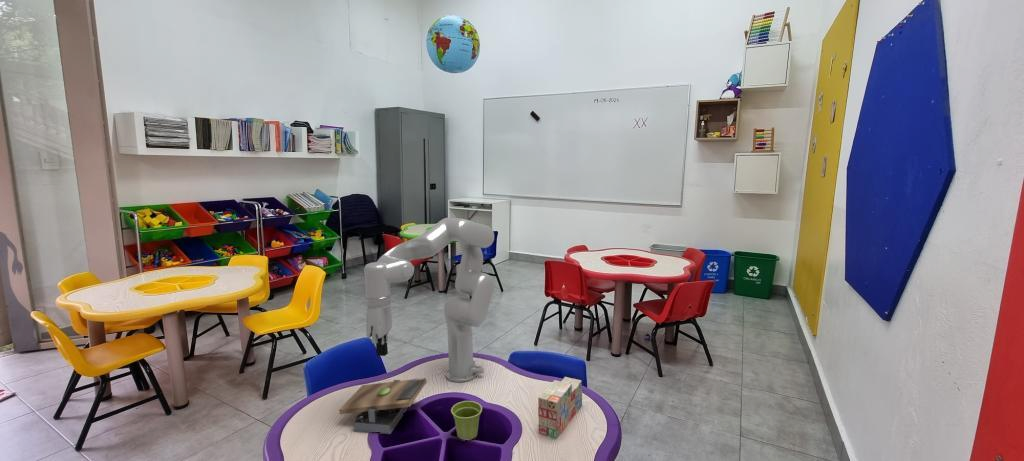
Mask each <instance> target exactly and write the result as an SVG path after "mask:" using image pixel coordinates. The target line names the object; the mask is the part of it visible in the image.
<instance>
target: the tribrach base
mask: <svg viewBox="0 0 1024 461" xmlns="http://www.w3.org/2000/svg"><path fill="white" fill-rule="evenodd" d="M394 381H401V380H398V379H394V380H393V381H392V382H394ZM407 408H408V407H404V408H394V409H385V410H379V411H378V412H377V413H376V409H369V411H366V412H360V413H358V414H357V415H356V419H355V420H354V421H353V432H356V433H367V434H368V433H370V434H371V432H375V431H379V432H380V433H379V434H384V435H385V434H386V435H391V434H392V433H393V431H394V429H395V428H396V426H398V423H399V422H400V421H401V419H402V418H403V416H404V415H403V412H404V411H405V410H406V409H407ZM408 409H409V408H408ZM408 409H407V410H408Z"/></svg>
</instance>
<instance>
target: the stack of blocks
mask: <svg viewBox="0 0 1024 461" xmlns="http://www.w3.org/2000/svg"><path fill="white" fill-rule="evenodd" d="M582 381H583V380H581V379H578V378H577V379H576V378H571V377H567V376H564V377H563V379H561V381H560V380H558V379H557V380H556V379H555V380H553V381H552V383H551V384H550V385H549V386H548V387H547V388H546V389H545V390H544V391H543V392H542V393H541V394H540V395H539V396H538V397H537V398H538V403H537V404H538V406H537V407H538V408H537V410H538V411H537V415H538V434H540V435H542V436H545V437H548V438H552V439H555V440H557V439H558V438H559V437H560V435H561V434H563V432H564V430H565V429H566V428H567V427H568V425H569V424H570V422H571V421H572V419H573V418H574V416H576V414H577V413H578V412H579V410H580V409H581V407H582V405H583V383H582Z"/></svg>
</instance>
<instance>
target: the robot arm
mask: <svg viewBox="0 0 1024 461" xmlns="http://www.w3.org/2000/svg"><path fill="white" fill-rule="evenodd" d="M494 241H495V233H494V230H493V229H492V227H490V226H488V225H486V224H482V223H479V222H476V221H472V220H469V219H467V218H459V217H458V218H457V217H444V218H443V219H440V220H439V221H438V222H437V223H435V224H434V225H433V226H432V227H430V228H428V229H427V230H426V231H425V232H424V233H422V234H421V235H418V236H417V237H415V238H412V239H409V240H406V241H404V242H401V243H400V244H397V245H396V246H394V247H392V248H390V249H389V250H387V252H385V253H384V254H382V255H381V256H380V257H379V258H378V259H377V261H373V262H369V263H367V264H365V265H364V269H363V272H364V285H365V286H364V287H365V298H366V299H365V301H366V314H365V315H366V316H365V332H366V334H365V335H366V338H367V339H370V338H371V343H372V344H375V351H376V352H375V353H376V356H380V357H382V356H383V357H386V356H387V355H388V354H389V352H388V348H389V347H388V340H389V339H388V335H389V332H390V331H391V330H392V328H393V318H392V317H393V316H392V315H393V314H392V309H391V305H392V301H391V300H392V298H391V284H395V283H396V284H397V283H404V282H407V281H409V280H410V279H412V277H413V276H414V274H415V267H414V265H413V264H412V263H413V262H411V261H414V260H421V259H426V258H427V259H428V258H430V257H433V256H436V255H437V254H438V253H439V252H441V251H442V250H443V249H444V248H445V247H446V246H448V245H449V244H450V243H452V242H457V243H458V245H459V247H460V249H461V260H460V263H459V268H458V271H457V275H456V278H455V282H454V287H455V290H456V291H457V292H458V293H461V294H464V295H467V296H471V298H469V297H463V296H451V297H450V298H448V299H447V300H446V301H445V303H444V306H443V314H444V318H445V321H446V322H445V324H446V330H447V351H448V355H447V356H448V368H447V369H446V371H445V373H444V375H445V378H446V379H447V380H448V381H451V382H457V383H463V382H469V381H472V380H473V379H475V378H476V377H477V376H478V373H479V374H484V373H485V367H483V365H478V364H476V361H474V349H473V347H474V346H473V345H474V344H473V329H472V327H480V326H481V325H483V323H484V322H485V320H486V319H487V318H486V317H487V316H488V312H489V308H490V305H491V301H492V296H493V293H494V280H493V278H492V276H491V275H490V274H488V273H486V272H482V268H483V263H484V255H483V251H482V249H486V248H489V247H490V246H492V244H494V243H493V242H494Z"/></svg>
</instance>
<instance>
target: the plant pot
mask: <svg viewBox="0 0 1024 461" xmlns="http://www.w3.org/2000/svg"><path fill="white" fill-rule="evenodd" d="M450 412H451V415H452V416H453V419H454V424H455V429H456V435H457V438H459V439H460V438H463V439H470V440H469V441H472V440H473V439H475V438H477V436H478V431H479V421H480V416H481V413H482V412H483V407H482V405H481V404H480V403H479V402H477V401H473V400H463V401H460V402H457V403H455V404H453V406H452V407H451V409H450Z"/></svg>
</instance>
